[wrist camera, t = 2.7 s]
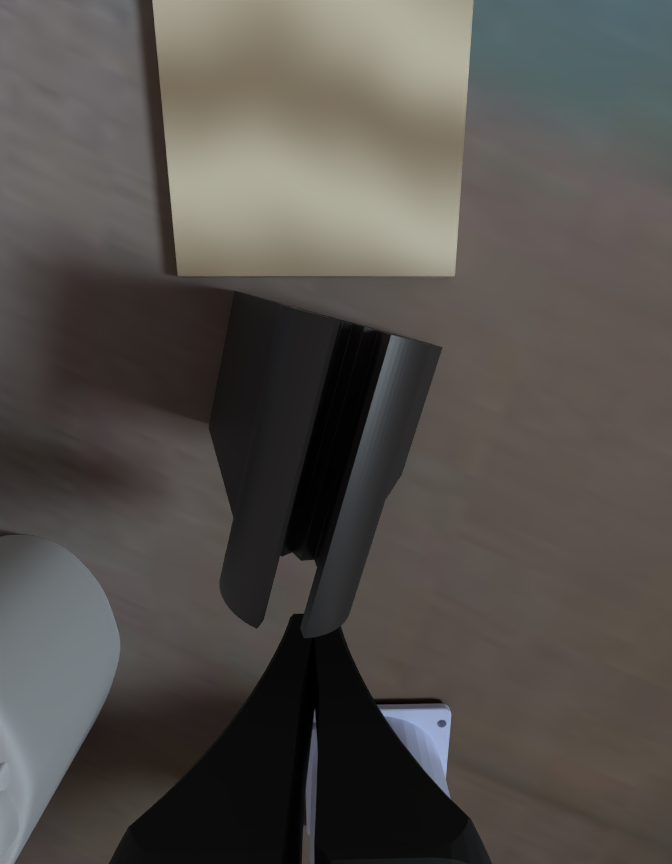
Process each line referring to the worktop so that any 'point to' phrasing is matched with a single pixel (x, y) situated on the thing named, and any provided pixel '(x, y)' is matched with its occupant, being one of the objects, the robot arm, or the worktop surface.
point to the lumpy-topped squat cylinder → (46, 675)
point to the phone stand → (310, 448)
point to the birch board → (314, 135)
